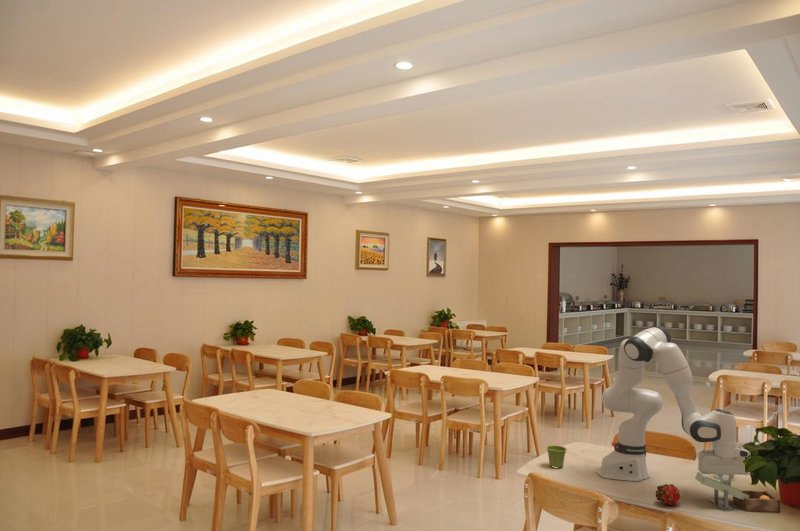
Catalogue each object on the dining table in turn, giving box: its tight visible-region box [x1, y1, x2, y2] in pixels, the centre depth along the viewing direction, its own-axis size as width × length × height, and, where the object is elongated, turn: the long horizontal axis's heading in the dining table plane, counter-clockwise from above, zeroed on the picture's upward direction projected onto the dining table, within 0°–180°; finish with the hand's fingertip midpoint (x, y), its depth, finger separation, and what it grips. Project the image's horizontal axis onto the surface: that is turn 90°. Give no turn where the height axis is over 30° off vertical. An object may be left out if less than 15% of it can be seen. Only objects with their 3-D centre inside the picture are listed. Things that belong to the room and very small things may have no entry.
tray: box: [732, 489, 781, 513], centre depth 238 cm, size 13×10×4 cm
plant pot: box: [546, 445, 568, 467], centre depth 288 cm, size 9×9×9 cm
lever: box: [694, 471, 749, 500], centre depth 243 cm, size 18×13×3 cm
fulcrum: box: [709, 488, 734, 512], centre depth 240 cm, size 4×10×7 cm, turn 175°
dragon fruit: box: [655, 483, 682, 507], centre depth 241 cm, size 8×8×12 cm
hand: (725, 485), depth 246 cm, fingers closed
